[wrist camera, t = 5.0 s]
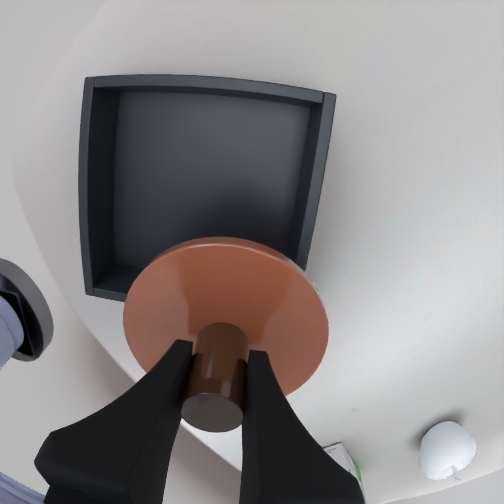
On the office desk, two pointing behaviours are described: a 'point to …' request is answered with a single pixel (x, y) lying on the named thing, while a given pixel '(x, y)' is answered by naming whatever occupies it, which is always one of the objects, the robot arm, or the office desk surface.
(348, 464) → the ink box
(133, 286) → the knobbed copper disc
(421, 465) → the plain white apple
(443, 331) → the office desk surface
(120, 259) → the charcoal square tray
